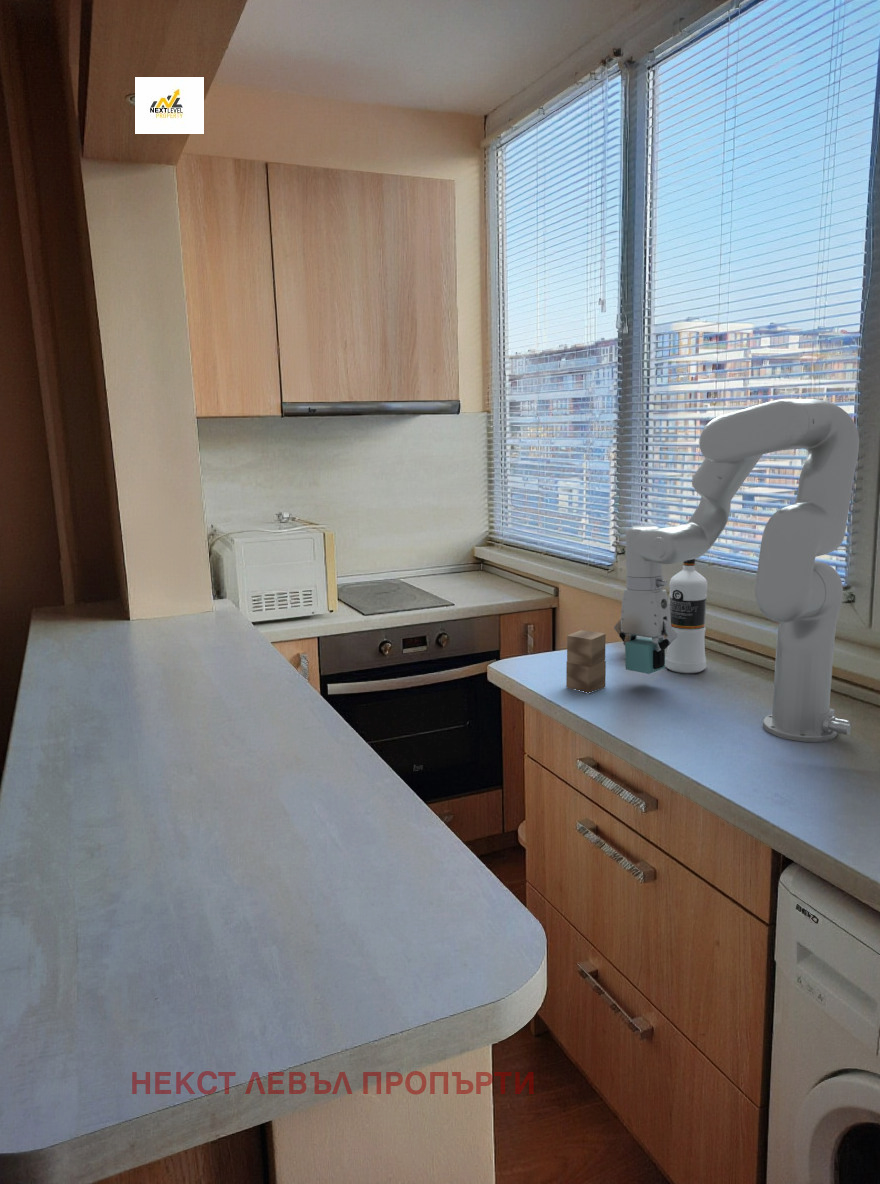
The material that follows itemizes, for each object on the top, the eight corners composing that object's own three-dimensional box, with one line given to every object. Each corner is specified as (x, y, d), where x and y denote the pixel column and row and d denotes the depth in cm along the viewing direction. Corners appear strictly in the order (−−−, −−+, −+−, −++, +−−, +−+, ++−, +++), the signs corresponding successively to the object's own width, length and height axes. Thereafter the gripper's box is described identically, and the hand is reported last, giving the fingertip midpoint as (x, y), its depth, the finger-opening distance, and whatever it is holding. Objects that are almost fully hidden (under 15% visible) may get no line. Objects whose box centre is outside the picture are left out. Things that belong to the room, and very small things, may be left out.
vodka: (714, 670, 188) (720, 541, 182) (685, 676, 184) (689, 545, 178) (685, 660, 196) (689, 537, 190) (656, 666, 192) (660, 540, 186)
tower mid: (605, 660, 178) (605, 633, 176) (591, 666, 173) (591, 639, 172) (581, 656, 181) (581, 629, 180) (567, 662, 177) (567, 635, 176)
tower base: (605, 687, 178) (605, 661, 177) (588, 693, 174) (588, 666, 173) (583, 681, 183) (583, 655, 181) (566, 687, 179) (566, 661, 178)
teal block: (665, 668, 177) (664, 641, 176) (649, 673, 173) (648, 646, 172) (641, 663, 181) (641, 637, 180) (625, 669, 177) (625, 642, 176)
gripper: (690, 584, 170) (690, 668, 173) (621, 578, 183) (622, 656, 186) (670, 589, 165) (670, 675, 168) (600, 582, 178) (602, 662, 181)
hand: (645, 664), depth 177 cm, fingers closed on teal block, 6 cm apart
